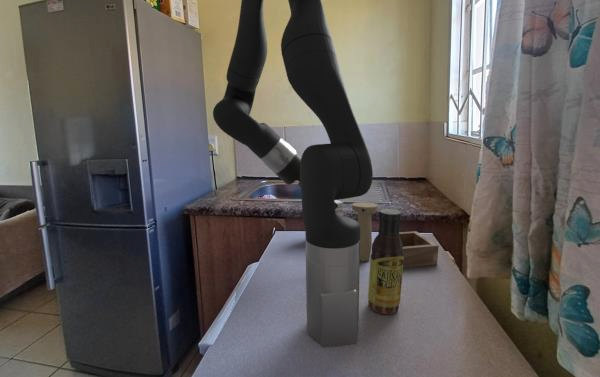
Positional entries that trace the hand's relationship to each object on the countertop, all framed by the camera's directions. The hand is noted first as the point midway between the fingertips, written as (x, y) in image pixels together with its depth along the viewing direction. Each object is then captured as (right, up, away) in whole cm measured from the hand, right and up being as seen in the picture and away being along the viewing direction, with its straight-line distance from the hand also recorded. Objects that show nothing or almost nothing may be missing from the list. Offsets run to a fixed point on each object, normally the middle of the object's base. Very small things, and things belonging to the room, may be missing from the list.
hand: (330, 204), depth 87 cm
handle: (+9, -15, +5) cm, 18 cm away
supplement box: (+1, -12, +19) cm, 23 cm away
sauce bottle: (+9, -20, -18) cm, 28 cm away
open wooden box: (+21, -14, +6) cm, 26 cm away
